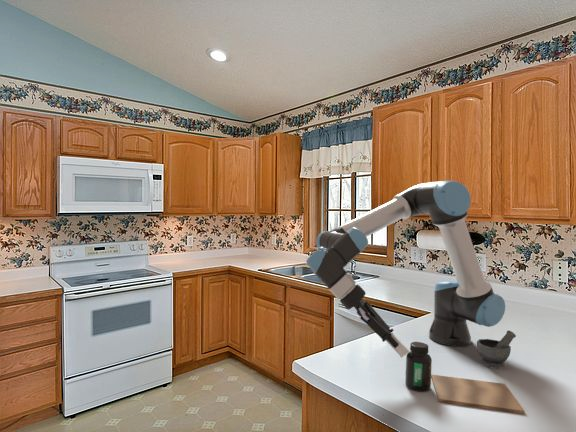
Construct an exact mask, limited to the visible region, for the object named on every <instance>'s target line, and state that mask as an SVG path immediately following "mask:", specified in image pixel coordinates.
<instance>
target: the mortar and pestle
mask: <svg viewBox="0 0 576 432" xmlns="http://www.w3.org/2000/svg"><path fill="white" fill-rule="evenodd" d="M516 337H517V335H516V334H515V333H514V332H513V331H511V330H507V331H506V333H505V335H504V336H502V338H501V339H500V340H496V339H491V338H490V339H488V338H481V339H479V338H478V340H476V350H477V352H478V354H479V356H480V357H481V358H482V360H481V364H483V366H486V367H488V368H490V369H491V368H492V369H497V370H498V369H503V368H504V367H505V366H504V365H505V364H504V363H505V362H507V360H508V359H509V357H510V356H511V348H512V347H511V343H512V342H513V340H514V339H515V338H516Z"/></svg>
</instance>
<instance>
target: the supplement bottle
mask: <svg viewBox="0 0 576 432" xmlns="http://www.w3.org/2000/svg"><path fill="white" fill-rule="evenodd" d="M405 356H406V357H405V385H406V387H407V388H409V389H410V390H412V391H415V392H427V391H430V389H431V387H432V386H431V385H432V378H431V375H432V367H433V366H432V365H433V364H432V363H433V362H432V357H431V355H430V354H429V345H428V344H427V343H425V342H421V341H412V342H411V343H410V347H409V352H408V353H407V354H406V355H405Z"/></svg>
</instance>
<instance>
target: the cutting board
mask: <svg viewBox="0 0 576 432" xmlns="http://www.w3.org/2000/svg"><path fill="white" fill-rule="evenodd" d="M431 383H432V384H433V388H434V391H435V395H436V397H437V398H436V399H437V402H439V403H445V404H452V405H459V406H465V407H466V406H467V407H472V408H477V409H478V408H479V409H487V410H494V411H500V412H506V411H507V413H512V414H513V413H514V414H519V415H520V414H522V415H525V413H526V412H525V409H524V407H522V405H521V404H520V403H519V401H518V400H517V398H516V397H515V395H514V394H513V392H511V389H509V387H508V386H507V384H506V383H501V382H494V381H485V380H479V379H478V380H477V379H469V378H461V377H453V376H448V375H447V376H446V375H438V374H431Z"/></svg>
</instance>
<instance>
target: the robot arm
mask: <svg viewBox="0 0 576 432" xmlns="http://www.w3.org/2000/svg"><path fill="white" fill-rule="evenodd" d="M471 202H472V199H471V193H470V192H469V190H468V188H467V187H466V186H465V185H464V184H463V183H461V182H459V181H456V180H447V179H446V180H440V181H429V182H422V183H419V184H417V185H413V186H412V187H409V188H408V189H405V190H404V191H402V192H400V193H397V194H396V195H394V196H393V198H392V200H389V201H388V202H386V203H384V204H382V205H380V206H378V207H376V208H374V209H371V210H370V211H368V212H366V213H364V214H362V215H360V216H358V217H356V218H354V219H351V220H350V221H348V222H346V223H344V224H342V225H340V226H338V227H336V228H333V229H331V230H325V231H321V232H320V233H319V234H318V235H317V237H316V238H315V239H316V240H315V245H316V248H317V249H316V250H314V252H313V253H312V254H311V255H310V256H309V257H308V258H307V259H306V265H307V266H308V268H309V269H310V270H311V271H312V273H313V274H314V275H315V276H316V277H317V278H318V279H319V280H320V281H321V282H322V283H323V284H324V285H325V287H327V289H328V290H329V291H330V292H331V293H332V295H333V296H334V297H335V298H336V299H337V300H339V301H340V303H341V304H342V306H343V307H344V308H345V309H346V310H351V309H352V308H354V309H355V310H356V314H357V315H358V316H359V318H360V320H362V321H363V322H364V323H365V324H366V325H367V326H368V327H369V328H370V329H371V330H373V332H375V334H376V335H377V336H378V337H380V339H381V340H382V342H387V344H388V345H389V346H390V347H391V348H392V349H393V350H394V351H395V353H397V355H398V356H399V357H400V359H402V358H403V357H405V356H407V353H408V352H410V349H408V347H406V346H405V345H404V344H403V343H402V342H401V340H400V339H399V338H398V337H397V336H396V334H394V333H393V332H394V331H395V330H394V329H393V328H390V326H389V325H388V323H386V322H385V321H384V319H383V318H382V317H381V316H380V315H379V313H378V312H377V311H376V310H375V308H374V307H373V306H372V304H371V303H370V302H368V301H366V300H365V299H363V298H364V297H365V296H366V294H367V293H366V291H365V290H364V289H363V288H362V286H360V284H356V283H357V282H356V281H355V280H354V278H353V274H351V273H350V274H349V273H348V271H346V269H345V267H347V266H348V264H350V263H351V262H352V261H353V260H354V259H355V258H357V256H359V255H360V254H361V253H363V250H365V248H366V247H367V246H368V245H369V240H368V238H367V237H369V236H370V235H371V236H372V234H375V233H376V232H379V231H380V230H383V229H384V228H387V227H388V226H391V225H392V224H395V223H396V222H398V221H400V220H401V219H403V220H407V219H411V218H413V217H416V216H423V215H424V216H429V218H430V220H431V223H432V225H433V226H436V227H438V229H439V231H440V232H439V233H440V234H441V237H442V240H443V243H444V246H445V249H446V252H447V254H448V258H449V260H450V263H451V267H452V270H453V272H454V276H455V279H456V280H454V281H453V280H450V281H449V280H447V281H446V280H445V281H443V280H442V281H437V282H436V283H435V286H434V305H433V306H434V310H433V311H434V313H433V314H434V315H433V317H434V318H433V320H432V323H431V325H430V327H429V330H428V332H429V333H428V338H429V339H430V340H431V341H433V342H436V343H438V344H442V345H445V346H451V347H452V346H454V347H465V346H466V347H467V346H470V345H471V343H472V337H471V336H472V335H471V333H470V332H471V331H470V329H469V327H468V323H467V321H469V322H471V323H474V324H477V325H479V326H483V327H488V328H490V327H494V326H496V325H497V324H499V323H500V321H502V319H503V316H504V315H505V311H506V302H505V299H504V298H503V297H502V296H500V295H499V294H496V293H495V292H494V290H493V288H492V284H491V283H490V282H489V281H487V280H485V278H484V275H483V272H482V269H481V266H480V263H479V259H478V257H477V253H476V251H475V247H474V245H473V242H472V238H471V235H470V232H469V229H468V226H467V224H466V221H465V220H466V219H467V217H468V216H469V215H468V210H469V209H470V207H471V205H470V204H471Z"/></svg>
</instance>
